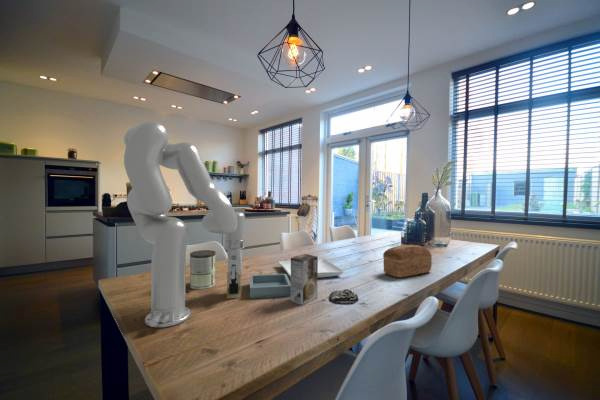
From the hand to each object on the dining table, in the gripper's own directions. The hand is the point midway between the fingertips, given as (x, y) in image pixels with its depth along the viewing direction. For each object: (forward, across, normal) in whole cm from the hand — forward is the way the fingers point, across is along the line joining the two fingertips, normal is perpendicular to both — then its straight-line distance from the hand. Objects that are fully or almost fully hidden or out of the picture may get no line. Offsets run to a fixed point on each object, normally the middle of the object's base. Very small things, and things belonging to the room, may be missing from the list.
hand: (234, 290), depth 100 cm
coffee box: (+2, -8, -26) cm, 27 cm away
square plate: (+3, +27, -36) cm, 45 cm away
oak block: (+2, 0, 0) cm, 2 cm away
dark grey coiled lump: (+3, -10, -41) cm, 42 cm away
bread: (+2, +18, -86) cm, 88 cm away
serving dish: (+2, +4, -14) cm, 15 cm away
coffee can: (+2, +14, +14) cm, 20 cm away
